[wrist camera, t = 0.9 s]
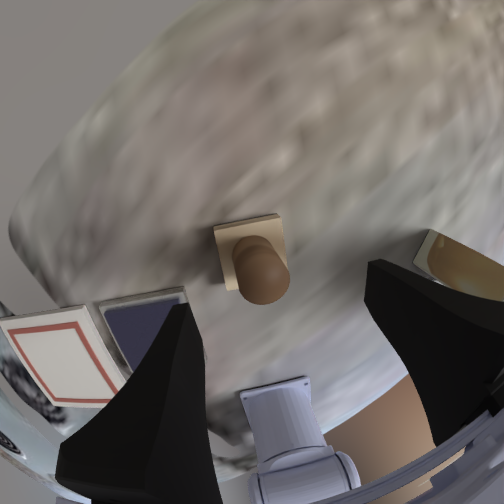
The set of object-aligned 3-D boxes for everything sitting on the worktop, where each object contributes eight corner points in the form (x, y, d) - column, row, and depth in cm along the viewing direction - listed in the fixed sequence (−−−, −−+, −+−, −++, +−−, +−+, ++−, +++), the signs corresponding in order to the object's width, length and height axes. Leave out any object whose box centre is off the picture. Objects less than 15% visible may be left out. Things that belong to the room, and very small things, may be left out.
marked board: (139, 402, 27) (138, 408, 26) (55, 401, 26) (53, 406, 25) (84, 304, 22) (81, 310, 21) (1, 317, 20) (-3, 322, 20)
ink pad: (207, 356, 25) (207, 366, 24) (133, 366, 25) (131, 376, 23) (184, 286, 22) (182, 294, 21) (101, 301, 22) (96, 310, 20)
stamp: (283, 270, 23) (306, 306, 18) (225, 282, 23) (232, 323, 17) (276, 213, 22) (299, 235, 16) (213, 225, 21) (215, 252, 16)
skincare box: (454, 249, 26) (529, 293, 15) (437, 280, 27) (508, 334, 16) (428, 225, 24) (518, 272, 13) (409, 262, 25) (492, 321, 14)
